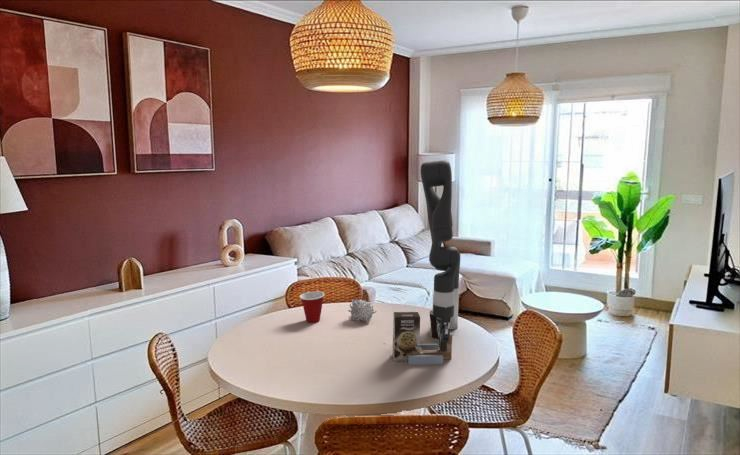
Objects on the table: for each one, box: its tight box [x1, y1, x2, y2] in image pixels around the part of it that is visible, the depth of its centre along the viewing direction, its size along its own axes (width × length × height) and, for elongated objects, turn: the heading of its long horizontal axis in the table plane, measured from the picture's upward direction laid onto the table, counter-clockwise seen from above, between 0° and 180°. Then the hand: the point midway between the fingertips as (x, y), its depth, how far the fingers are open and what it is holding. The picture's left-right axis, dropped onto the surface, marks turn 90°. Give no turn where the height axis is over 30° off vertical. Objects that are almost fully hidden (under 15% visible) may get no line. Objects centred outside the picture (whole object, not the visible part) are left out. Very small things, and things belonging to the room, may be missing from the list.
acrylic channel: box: [407, 343, 444, 366], centre depth 184 cm, size 12×12×3 cm
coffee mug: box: [428, 309, 451, 341], centre depth 206 cm, size 12×9×10 cm
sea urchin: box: [347, 298, 378, 323], centre depth 224 cm, size 12×11×12 cm
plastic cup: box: [299, 290, 325, 324], centre depth 224 cm, size 11×11×12 cm
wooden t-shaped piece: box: [419, 331, 453, 360], centre depth 184 cm, size 6×12×9 cm, turn 93°
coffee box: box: [392, 311, 421, 362], centre depth 184 cm, size 9×6×16 cm
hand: (442, 349), depth 184 cm, fingers closed on wooden t-shaped piece, 2 cm apart
